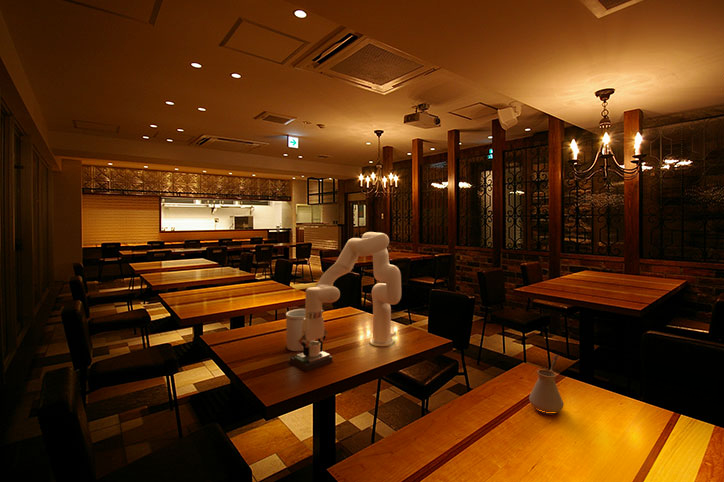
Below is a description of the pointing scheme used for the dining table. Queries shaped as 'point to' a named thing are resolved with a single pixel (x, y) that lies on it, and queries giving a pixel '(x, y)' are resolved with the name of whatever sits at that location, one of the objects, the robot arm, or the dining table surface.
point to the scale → (309, 366)
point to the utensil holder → (294, 329)
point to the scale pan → (312, 359)
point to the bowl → (314, 348)
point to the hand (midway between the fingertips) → (313, 352)
